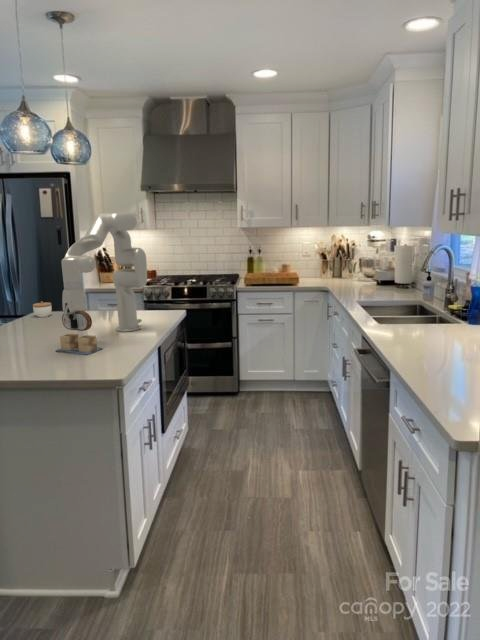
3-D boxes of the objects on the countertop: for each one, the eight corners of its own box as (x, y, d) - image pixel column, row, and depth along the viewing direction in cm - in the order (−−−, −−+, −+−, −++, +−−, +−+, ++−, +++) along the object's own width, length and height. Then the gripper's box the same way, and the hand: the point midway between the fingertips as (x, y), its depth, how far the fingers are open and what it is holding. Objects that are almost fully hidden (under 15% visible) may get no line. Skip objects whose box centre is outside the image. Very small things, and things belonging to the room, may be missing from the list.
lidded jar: (34, 315, 306) (32, 300, 304) (53, 314, 309) (51, 299, 307) (33, 318, 296) (31, 303, 294) (52, 317, 299) (50, 301, 297)
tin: (93, 330, 218) (91, 311, 216) (88, 331, 215) (86, 312, 214) (66, 328, 224) (65, 309, 222) (61, 329, 221) (60, 310, 220)
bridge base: (71, 346, 230) (70, 332, 228) (102, 349, 222) (101, 334, 221) (55, 351, 221) (54, 337, 219) (87, 355, 214) (86, 340, 212)
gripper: (79, 283, 224) (82, 323, 228) (52, 288, 210) (57, 330, 214) (92, 283, 221) (95, 324, 225) (66, 289, 207) (70, 332, 211)
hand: (77, 327), depth 219 cm, fingers closed on tin, 2 cm apart
